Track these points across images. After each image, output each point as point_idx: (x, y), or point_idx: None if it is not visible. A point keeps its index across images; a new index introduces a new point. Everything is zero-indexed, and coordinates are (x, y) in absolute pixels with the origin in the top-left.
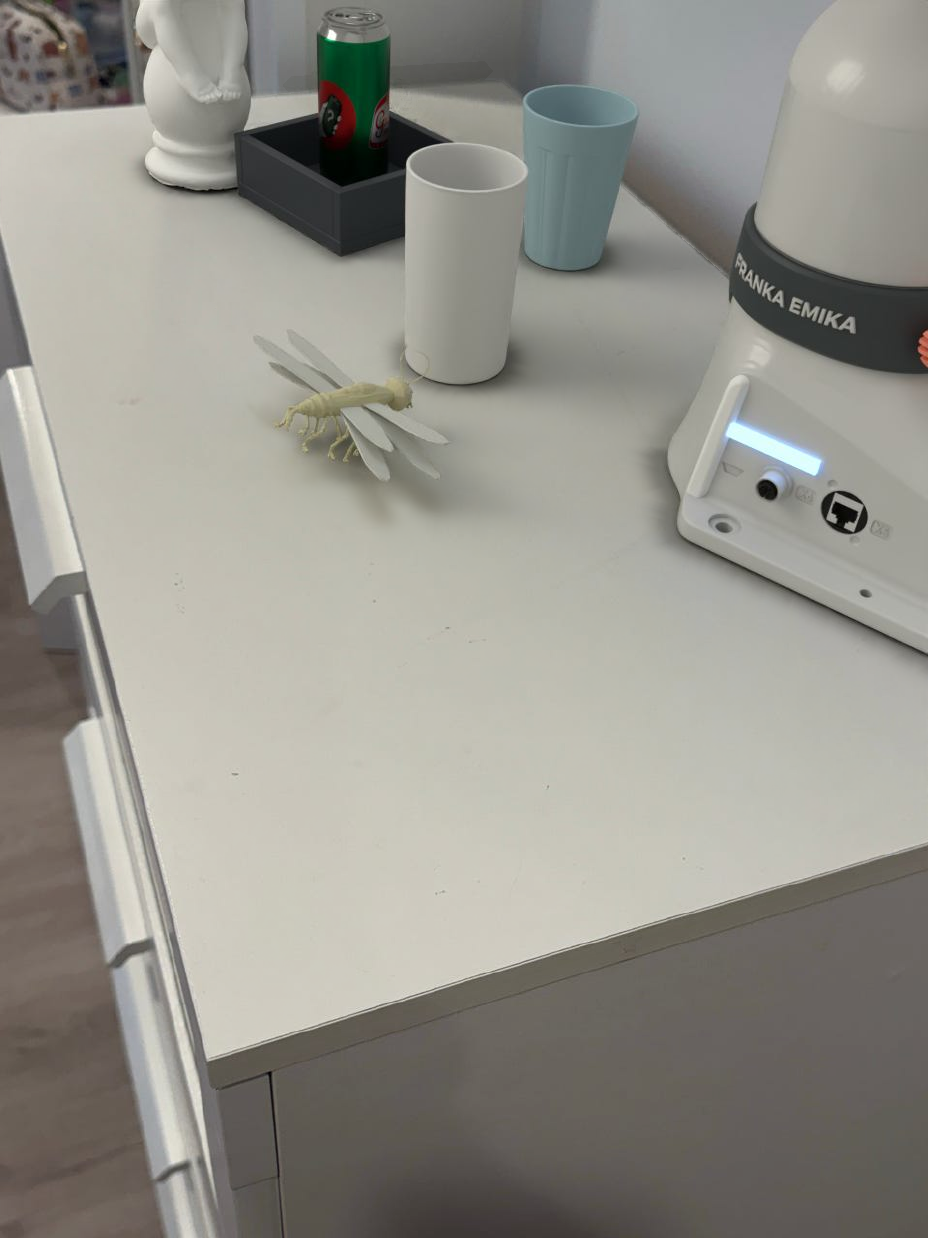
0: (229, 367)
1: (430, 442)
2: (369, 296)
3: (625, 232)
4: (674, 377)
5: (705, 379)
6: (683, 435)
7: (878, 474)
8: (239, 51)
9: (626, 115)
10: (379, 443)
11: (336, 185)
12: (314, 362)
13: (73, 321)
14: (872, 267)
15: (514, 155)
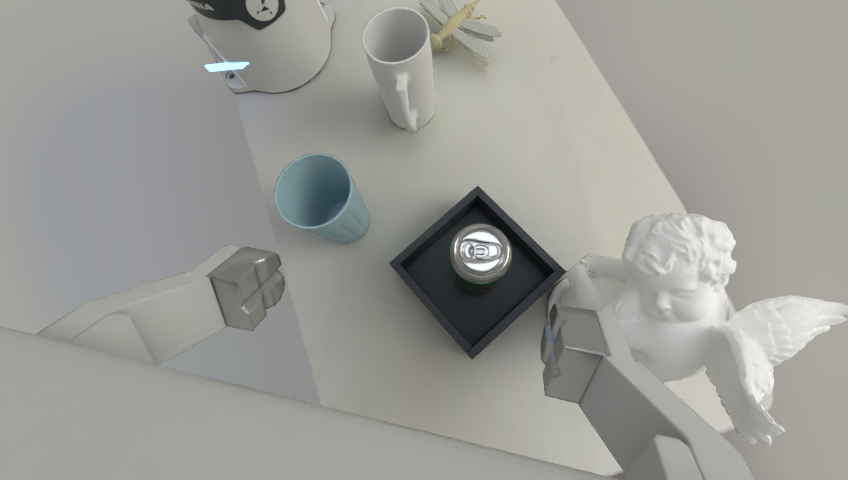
0: (516, 88)
1: None
2: (456, 159)
3: (305, 255)
4: (313, 109)
5: (306, 21)
6: (322, 36)
7: None
8: (579, 283)
9: (283, 205)
10: None
11: (481, 195)
12: (472, 38)
13: (604, 114)
14: None
15: (367, 52)
